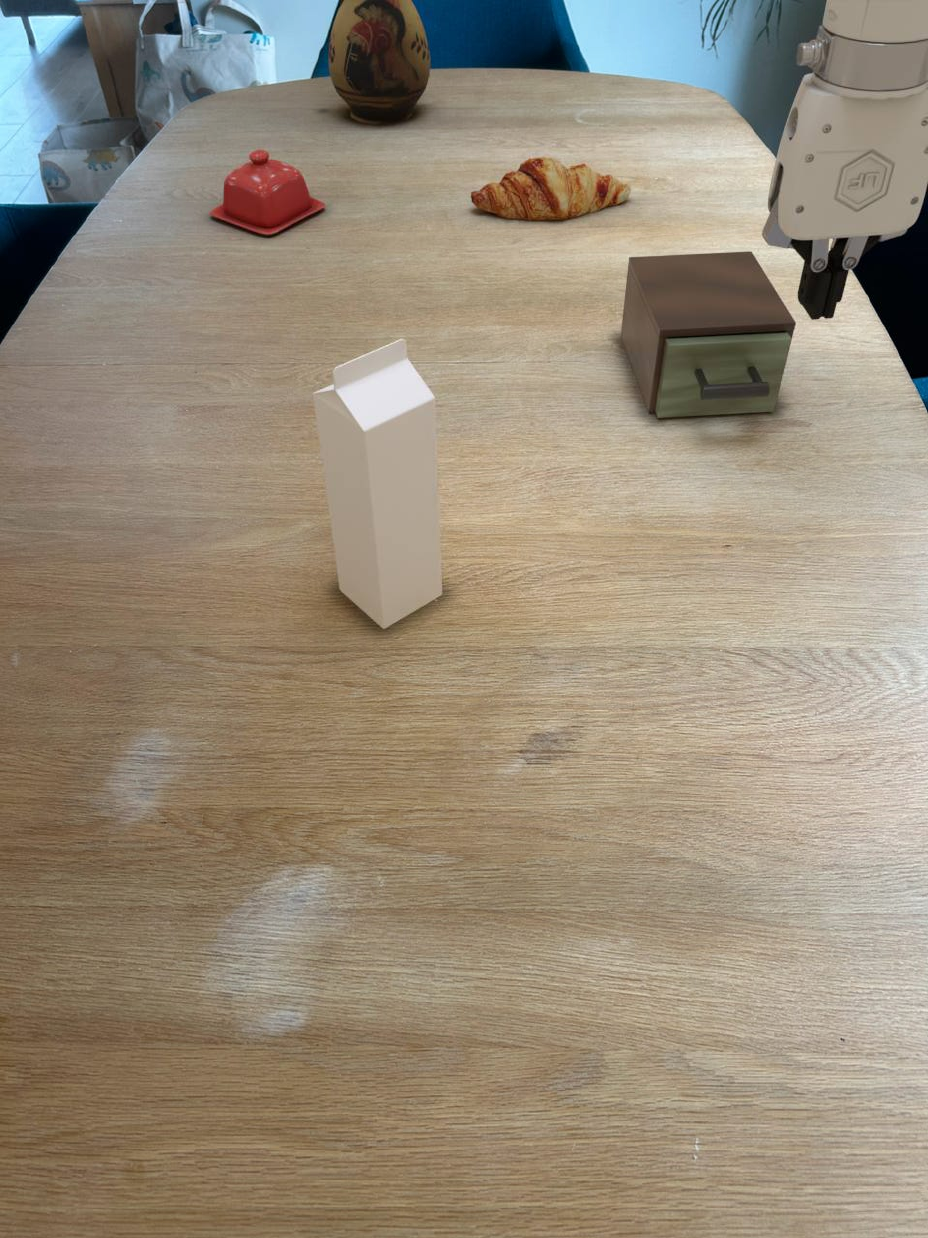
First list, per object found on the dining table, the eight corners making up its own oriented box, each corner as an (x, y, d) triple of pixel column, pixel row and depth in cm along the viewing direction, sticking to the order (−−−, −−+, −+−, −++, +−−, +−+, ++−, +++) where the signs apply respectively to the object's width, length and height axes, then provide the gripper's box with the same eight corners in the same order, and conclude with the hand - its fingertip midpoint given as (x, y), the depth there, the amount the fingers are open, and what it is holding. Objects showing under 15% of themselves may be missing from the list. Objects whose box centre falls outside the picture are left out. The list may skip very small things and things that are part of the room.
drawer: (787, 436, 94) (806, 363, 88) (667, 443, 93) (679, 369, 88) (736, 340, 106) (750, 270, 101) (630, 345, 106) (638, 275, 100)
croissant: (619, 220, 137) (617, 156, 135) (643, 213, 127) (642, 144, 125) (467, 230, 134) (462, 166, 132) (480, 224, 125) (475, 154, 122)
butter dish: (269, 245, 125) (258, 176, 119) (206, 222, 130) (193, 155, 124) (331, 213, 132) (324, 146, 126) (269, 192, 137) (259, 127, 131)
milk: (339, 594, 81) (303, 350, 65) (398, 561, 84) (377, 319, 68) (385, 635, 77) (358, 388, 62) (445, 599, 80) (434, 354, 65)
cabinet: (774, 411, 98) (796, 322, 91) (647, 419, 98) (660, 329, 91) (734, 336, 108) (751, 250, 102) (619, 342, 108) (629, 256, 101)
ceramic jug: (445, 104, 160) (440, -126, 139) (413, 139, 150) (401, -104, 129) (347, 94, 164) (327, -131, 143) (309, 127, 154) (281, -110, 132)
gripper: (781, 84, 63) (736, 342, 77) (1011, 67, 64) (927, 327, 77) (747, 47, 69) (711, 295, 82) (960, 32, 69) (890, 281, 82)
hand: (816, 310), depth 79 cm, fingers closed
